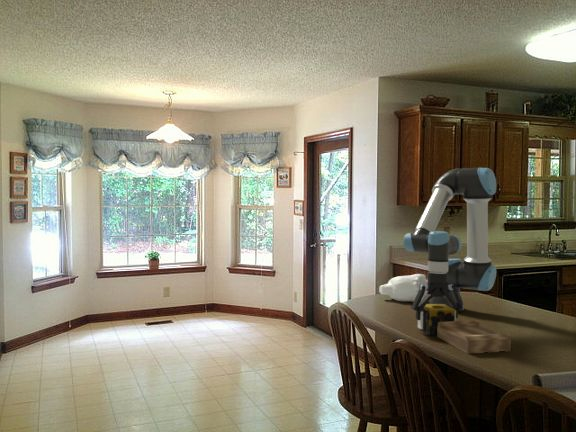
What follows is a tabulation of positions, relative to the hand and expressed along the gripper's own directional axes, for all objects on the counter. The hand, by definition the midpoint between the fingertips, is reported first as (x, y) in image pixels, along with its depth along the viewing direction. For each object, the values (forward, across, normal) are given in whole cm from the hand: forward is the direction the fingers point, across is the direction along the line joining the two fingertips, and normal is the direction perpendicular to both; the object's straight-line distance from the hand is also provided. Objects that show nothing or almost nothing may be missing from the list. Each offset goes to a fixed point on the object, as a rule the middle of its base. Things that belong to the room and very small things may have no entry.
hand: (436, 327), depth 189 cm
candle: (+2, 0, 0) cm, 2 cm away
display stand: (+2, -5, +16) cm, 17 cm away
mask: (+2, -13, -57) cm, 58 cm away
